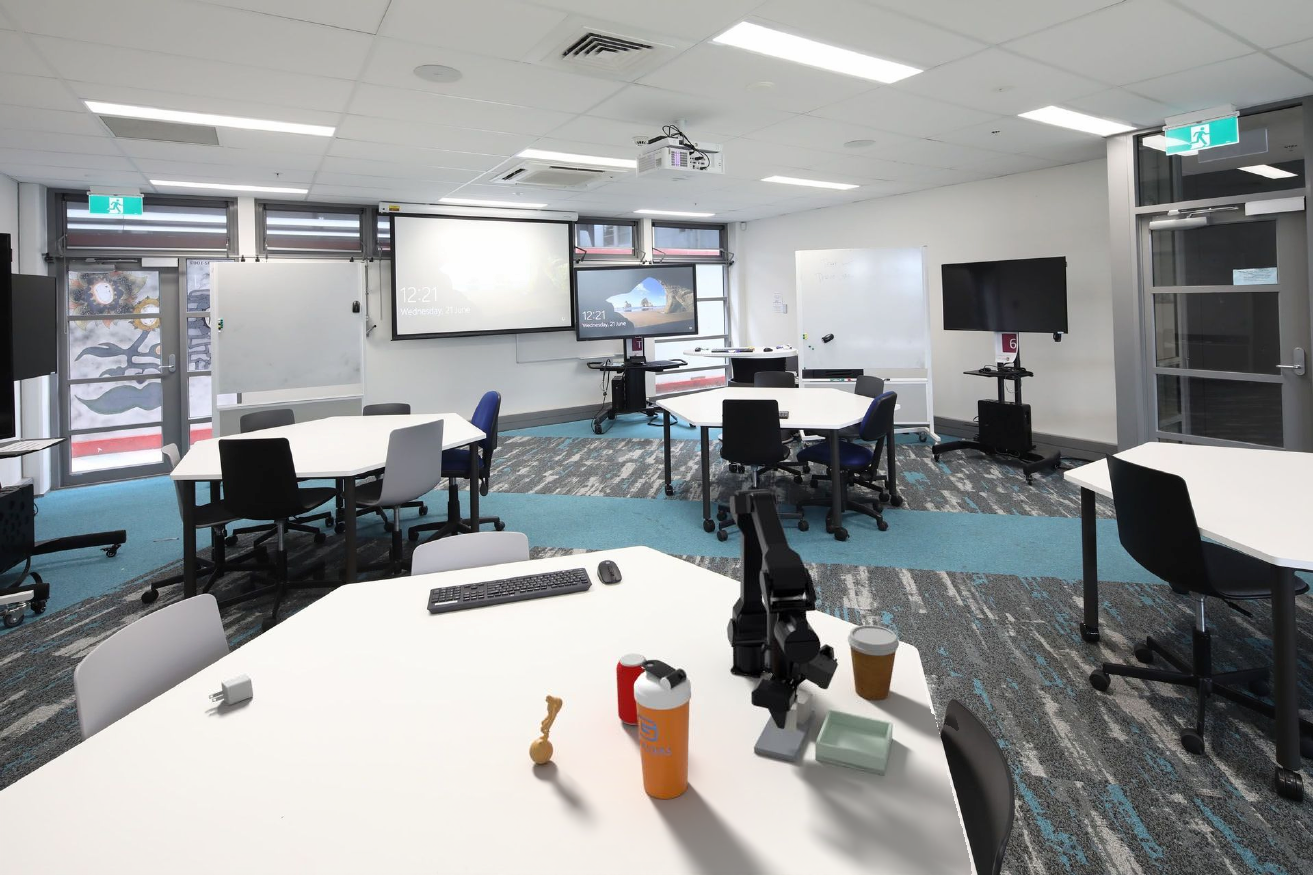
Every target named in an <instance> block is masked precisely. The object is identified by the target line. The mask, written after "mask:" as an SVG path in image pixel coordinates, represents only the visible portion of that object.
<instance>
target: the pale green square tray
mask: <svg viewBox="0 0 1313 875" xmlns="http://www.w3.org/2000/svg"><path fill="white" fill-rule="evenodd" d="M893 723H894V722H892V721H887V720H882V719H877V718H872V717H868V716H863V715H859V714H858V715H857V714H852V713H847V712H843V711H838V710H833V709H828V710H827V713H826V716H825V718H824V720H823V723H822V726H821V729H820V731H819V734H818V736H817V738H816V741H815V746H814V747H815V749H814V750H815V753H814V756H815V757H814V758H815V760H816V761H820V762H825V763H829V764H833V765H836V766H837V765H838V766H842V767H846V768H851V769H854V770H858V771H863V772H868V773H872V774H876V775H881V776H885V772H886V767H887V763H888V760H889V754H890V749H891V746H892V740H893V727H894V724H893Z"/></svg>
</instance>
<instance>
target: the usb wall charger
mask: <svg viewBox="0 0 1313 875" xmlns="http://www.w3.org/2000/svg"><path fill="white" fill-rule="evenodd" d="M220 683H221V690H220V691H217V692H215V693H212V694H210V695H208V698H209V699H211V701H212V703H215V702H218V701H222V700H224V702H225V703H226V704H228V706H231V705H233V704H237V703H239V702H240V703H241V701H244V700H248V699H249V698H253V697H254V691H253V690H254V689H253V684H252V680H251V678H250V677H249V675H247V674H246V673H245V674H241V675H238V676H237V677H234V678H229V679H227V680H225V681H222V682H220Z"/></svg>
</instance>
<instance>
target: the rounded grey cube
mask: <svg viewBox="0 0 1313 875" xmlns="http://www.w3.org/2000/svg"><path fill="white" fill-rule="evenodd" d="M797 719H798V697H797V699H796V701H795V703H794V704H793V705H792V707H791V709H790V711H788V713H787V718H786V723H785V728H784V729H780V728H778V727H777V725H776V723H775V721H774V720H773V718H772V729H776V730H785V731H793V732H796V727H797Z"/></svg>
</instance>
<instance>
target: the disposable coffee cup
mask: <svg viewBox="0 0 1313 875" xmlns="http://www.w3.org/2000/svg"><path fill="white" fill-rule="evenodd" d="M847 642H848V645H849V646H850V648H849V649H850V655H851V664H852V672H853V680H854V682H853V683H854V690H855V693H856V694H857V695H858V696H860V697H861V698H863V699H866V700H871V701H881V700H885V699H886V698H888V697H889V695H890V690H891V682H892V677H893V670H894V664H895V658H896V653H897V649H898V648H899V644H900V641H899V640H898V638H897V635H896V633H895V632H894V631H892V630H891V629H889V628H887V627H883V626H880V625H873V624H872V625H871V624H866V625H865V624H864V625H858V626H854V627H852V629H850V631H849V635H848V636H847Z"/></svg>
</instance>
